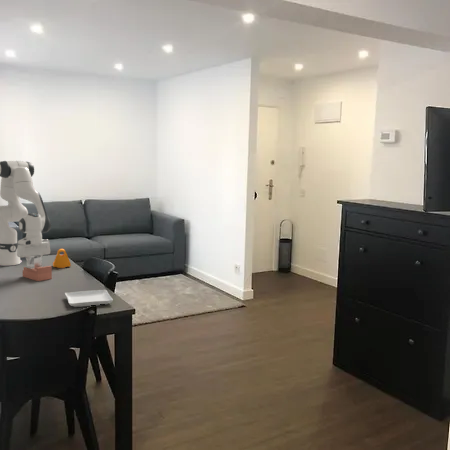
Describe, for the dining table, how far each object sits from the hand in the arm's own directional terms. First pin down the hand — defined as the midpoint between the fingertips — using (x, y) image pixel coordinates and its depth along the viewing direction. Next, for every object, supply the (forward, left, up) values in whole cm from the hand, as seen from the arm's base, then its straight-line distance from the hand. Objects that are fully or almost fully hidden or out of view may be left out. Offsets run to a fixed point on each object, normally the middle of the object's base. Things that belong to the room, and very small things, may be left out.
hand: (34, 263), depth 298 cm
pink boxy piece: (+3, 0, -8) cm, 9 cm away
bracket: (-14, +29, -9) cm, 33 cm away
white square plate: (+65, -11, -9) cm, 67 cm away
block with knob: (0, 0, -2) cm, 2 cm away
